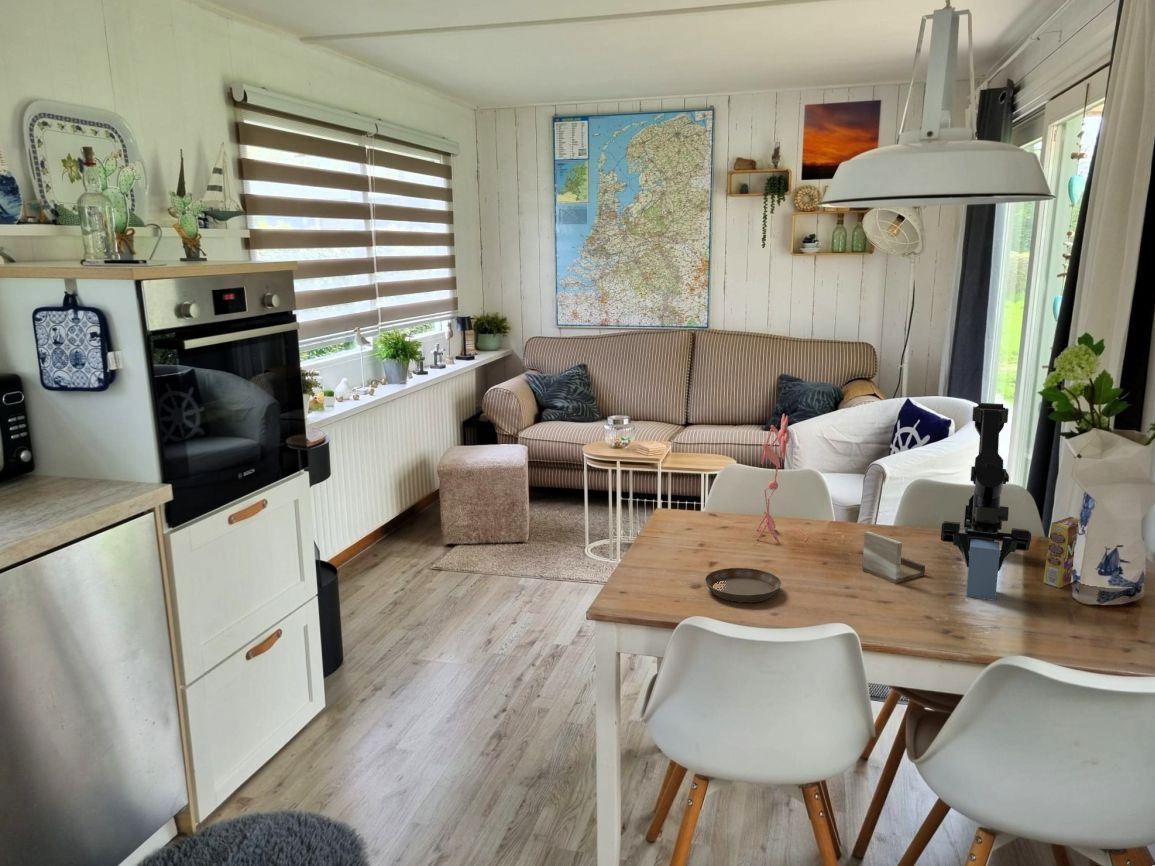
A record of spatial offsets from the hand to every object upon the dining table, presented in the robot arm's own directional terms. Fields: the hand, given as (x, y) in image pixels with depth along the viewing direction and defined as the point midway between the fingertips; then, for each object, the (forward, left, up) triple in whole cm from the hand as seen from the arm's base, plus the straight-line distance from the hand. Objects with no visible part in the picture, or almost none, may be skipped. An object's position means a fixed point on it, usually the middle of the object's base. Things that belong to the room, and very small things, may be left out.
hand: (983, 568), depth 192 cm
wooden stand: (+14, -15, -7) cm, 22 cm away
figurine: (+34, -45, -7) cm, 57 cm away
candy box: (-23, -7, -7) cm, 25 cm away
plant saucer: (+54, -6, -7) cm, 55 cm away
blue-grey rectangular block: (-1, -1, -7) cm, 7 cm away
